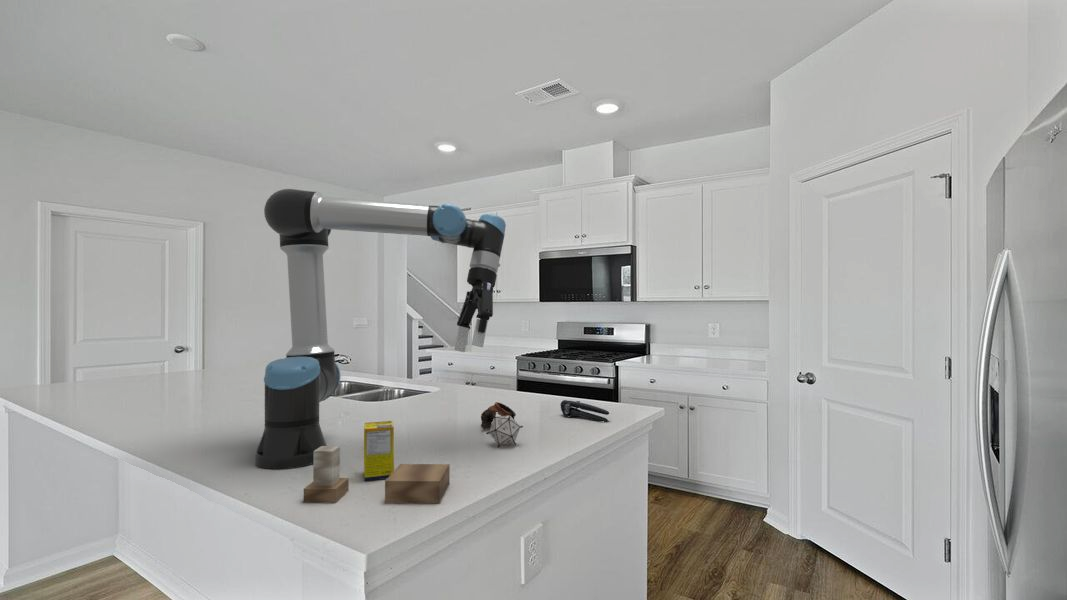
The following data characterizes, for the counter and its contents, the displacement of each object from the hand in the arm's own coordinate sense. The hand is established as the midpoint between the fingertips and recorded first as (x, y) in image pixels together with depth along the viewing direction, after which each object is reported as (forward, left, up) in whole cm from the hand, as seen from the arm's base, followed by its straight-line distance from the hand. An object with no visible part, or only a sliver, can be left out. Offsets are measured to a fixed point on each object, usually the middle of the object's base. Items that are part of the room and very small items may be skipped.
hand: (468, 348), depth 129 cm
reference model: (-22, -34, -25) cm, 47 cm away
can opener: (+33, +34, -26) cm, 54 cm away
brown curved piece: (+5, +22, -25) cm, 34 cm away
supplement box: (-16, -22, -25) cm, 37 cm away
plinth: (-5, -32, -25) cm, 41 cm away
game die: (+9, +2, -25) cm, 27 cm away
